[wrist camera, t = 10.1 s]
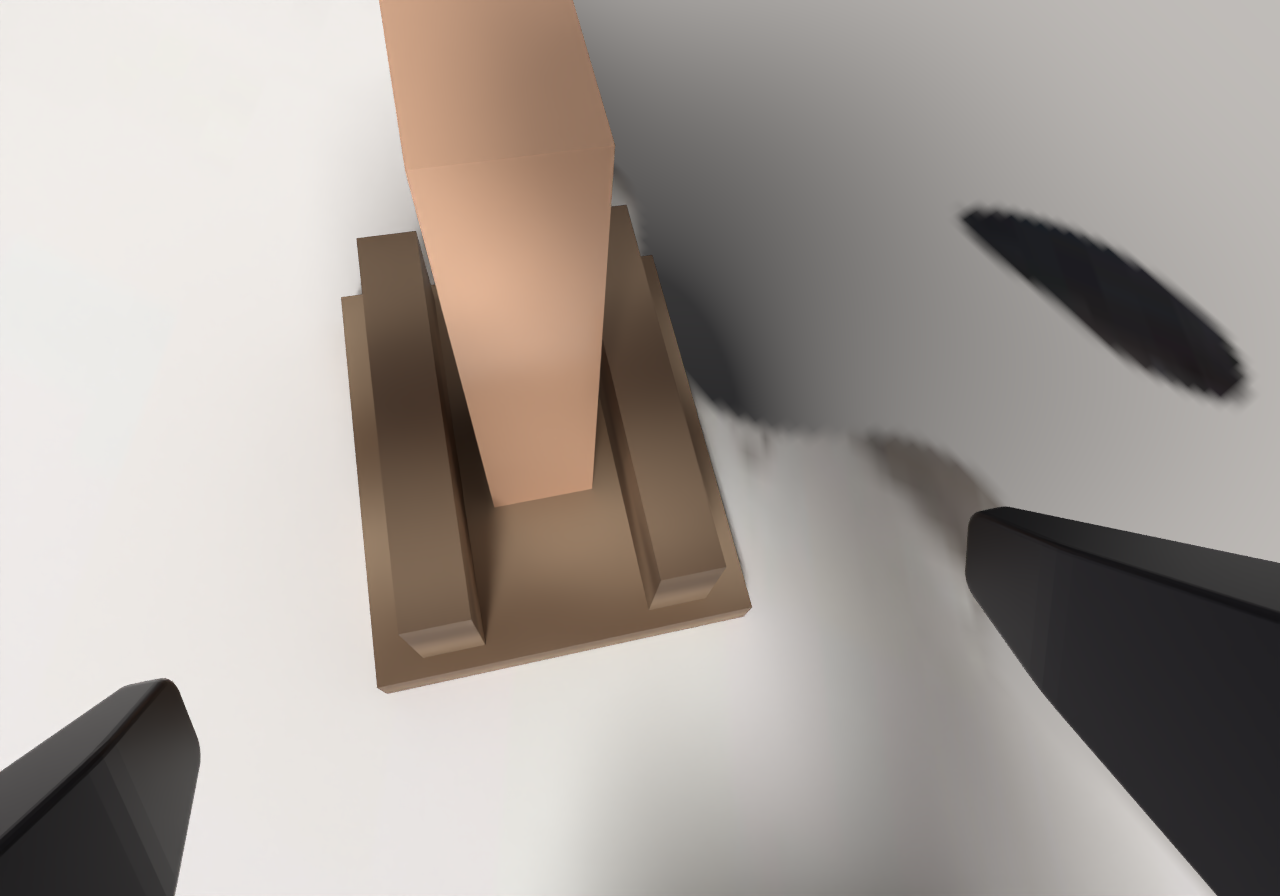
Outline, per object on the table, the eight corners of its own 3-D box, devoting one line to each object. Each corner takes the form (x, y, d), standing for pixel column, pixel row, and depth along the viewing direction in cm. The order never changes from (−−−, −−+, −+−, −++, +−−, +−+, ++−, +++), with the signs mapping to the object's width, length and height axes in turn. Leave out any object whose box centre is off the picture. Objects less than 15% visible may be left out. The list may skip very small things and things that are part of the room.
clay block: (591, 488, 22) (614, 144, 11) (494, 507, 22) (405, 170, 10) (567, 380, 24) (563, -31, 12) (475, 396, 23) (377, -16, 12)
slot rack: (743, 616, 23) (780, 576, 19) (387, 694, 21) (343, 669, 17) (648, 277, 27) (662, 186, 23) (350, 318, 26) (309, 229, 21)
